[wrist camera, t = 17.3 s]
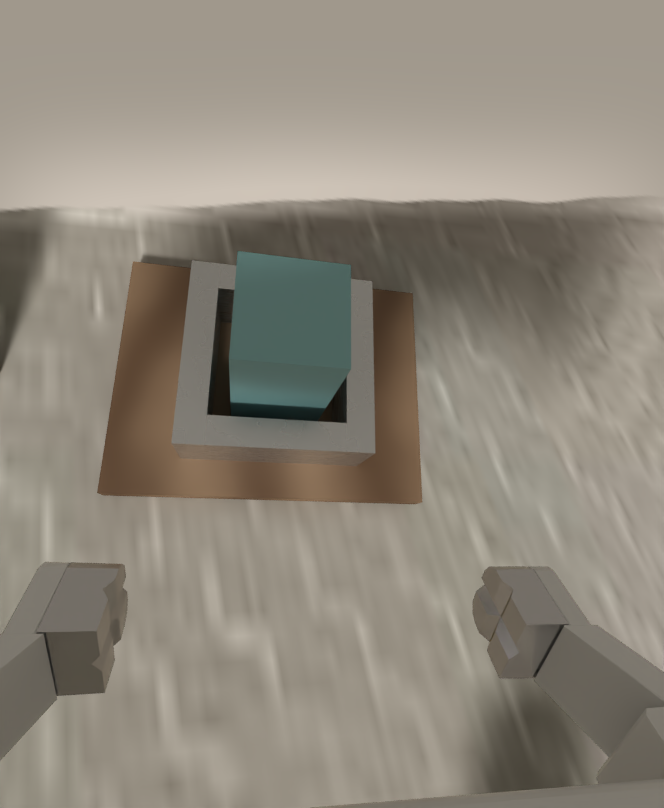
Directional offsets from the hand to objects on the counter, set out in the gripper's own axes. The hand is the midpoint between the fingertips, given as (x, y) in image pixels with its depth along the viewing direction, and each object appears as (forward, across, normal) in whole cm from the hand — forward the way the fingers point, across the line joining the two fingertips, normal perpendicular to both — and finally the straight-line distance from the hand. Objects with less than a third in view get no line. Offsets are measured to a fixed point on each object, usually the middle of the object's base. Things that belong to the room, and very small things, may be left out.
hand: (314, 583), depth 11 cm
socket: (+18, 0, +4) cm, 19 cm away
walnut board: (+19, 0, +4) cm, 20 cm away
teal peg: (+18, 0, +4) cm, 19 cm away
